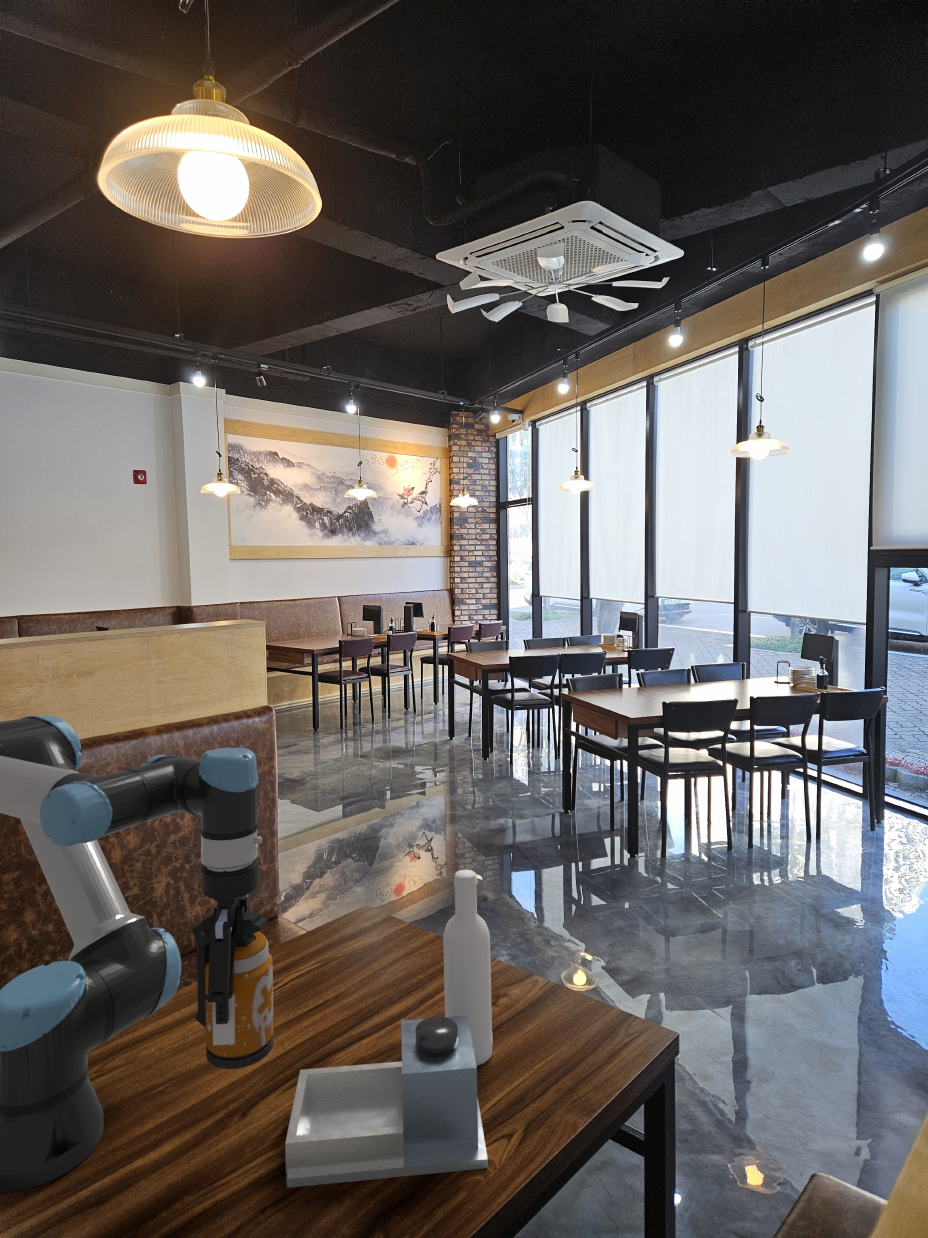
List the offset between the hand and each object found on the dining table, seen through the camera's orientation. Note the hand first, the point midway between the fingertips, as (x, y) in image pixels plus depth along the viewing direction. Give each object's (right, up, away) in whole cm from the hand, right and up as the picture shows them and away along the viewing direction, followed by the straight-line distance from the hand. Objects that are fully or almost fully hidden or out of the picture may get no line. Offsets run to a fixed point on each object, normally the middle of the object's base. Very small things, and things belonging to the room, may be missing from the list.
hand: (232, 1021), depth 98 cm
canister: (0, -5, 0) cm, 5 cm away
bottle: (+33, -16, +18) cm, 41 cm away
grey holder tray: (+22, -16, +1) cm, 27 cm away
